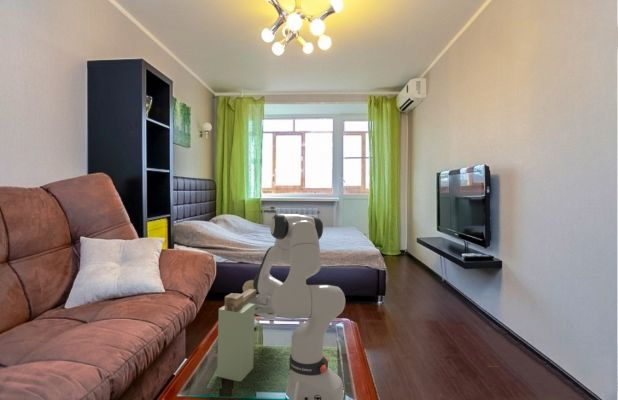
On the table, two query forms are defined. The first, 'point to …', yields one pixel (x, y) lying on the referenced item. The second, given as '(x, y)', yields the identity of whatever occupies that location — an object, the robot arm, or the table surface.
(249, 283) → the flower in vase
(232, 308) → the block
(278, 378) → the table surface
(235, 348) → the pedestal
